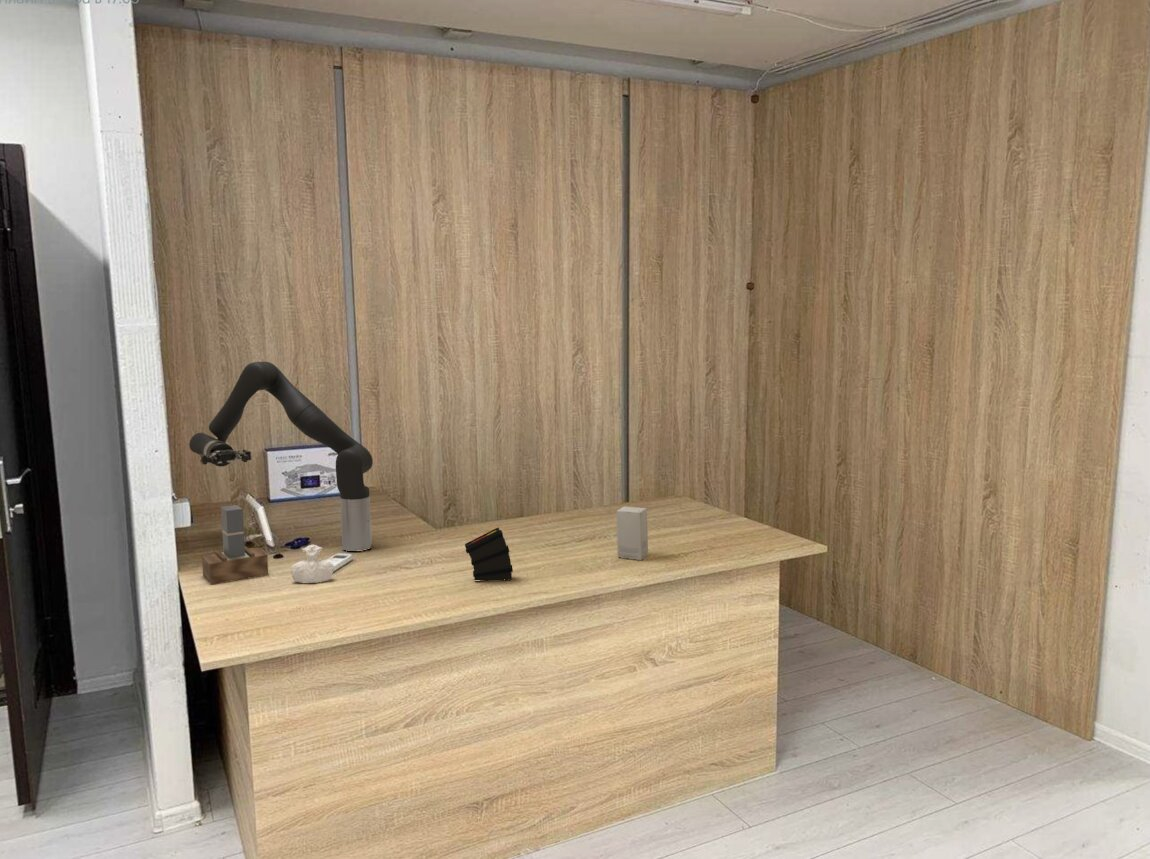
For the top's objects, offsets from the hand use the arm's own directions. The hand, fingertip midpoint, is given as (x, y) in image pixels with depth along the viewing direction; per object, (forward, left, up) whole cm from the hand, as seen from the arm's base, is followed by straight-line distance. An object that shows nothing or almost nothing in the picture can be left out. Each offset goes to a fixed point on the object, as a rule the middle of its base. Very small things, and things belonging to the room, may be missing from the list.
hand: (231, 460), depth 266 cm
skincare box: (-121, +15, -32) cm, 126 cm away
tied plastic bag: (-25, +22, -32) cm, 47 cm away
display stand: (-2, +13, -32) cm, 35 cm away
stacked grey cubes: (-2, +13, -26) cm, 29 cm away
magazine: (-75, +30, -32) cm, 87 cm away
